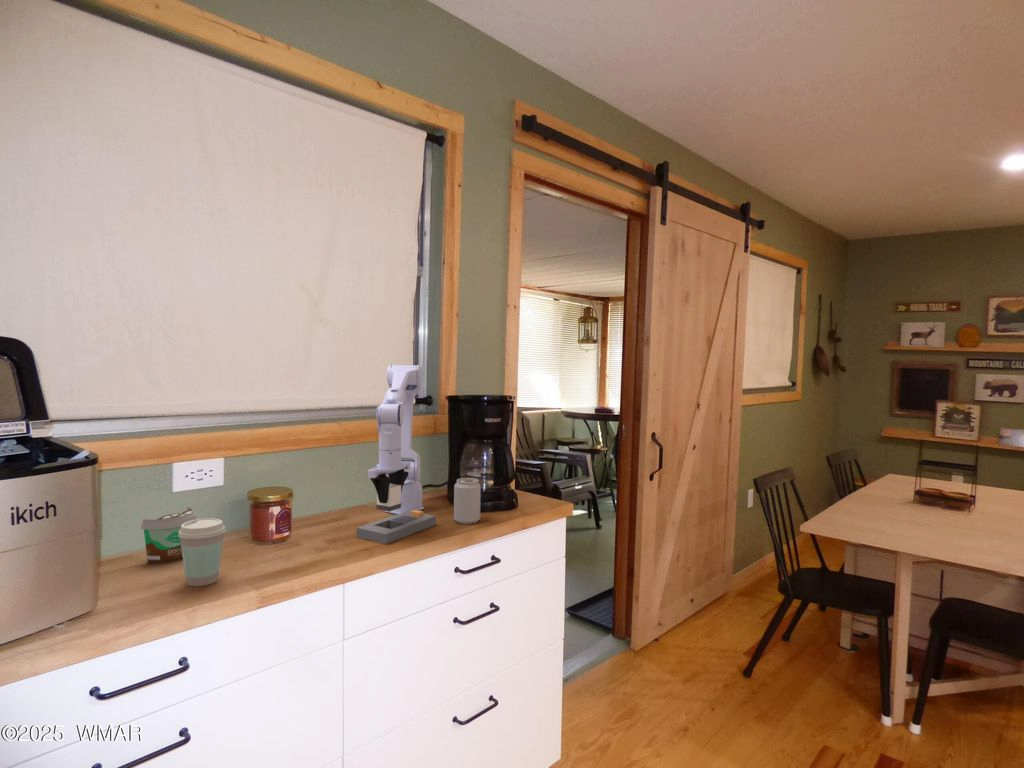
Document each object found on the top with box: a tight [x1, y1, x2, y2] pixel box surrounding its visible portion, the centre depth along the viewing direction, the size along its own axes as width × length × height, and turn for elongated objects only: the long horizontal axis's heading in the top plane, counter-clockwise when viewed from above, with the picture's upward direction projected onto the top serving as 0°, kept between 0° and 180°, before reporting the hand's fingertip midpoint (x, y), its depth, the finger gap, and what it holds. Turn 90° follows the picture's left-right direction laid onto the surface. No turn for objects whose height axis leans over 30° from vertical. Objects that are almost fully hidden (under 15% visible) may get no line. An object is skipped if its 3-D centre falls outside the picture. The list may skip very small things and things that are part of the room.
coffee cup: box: [178, 517, 226, 587], centre depth 119 cm, size 8×8×12 cm
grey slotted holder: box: [356, 510, 437, 545], centre depth 156 cm, size 20×10×4 cm, turn 150°
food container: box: [140, 506, 198, 564], centre depth 133 cm, size 12×6×10 cm, turn 160°
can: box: [453, 477, 482, 525], centre depth 166 cm, size 8×8×12 cm
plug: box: [375, 483, 401, 512], centre depth 153 cm, size 4×4×6 cm
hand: (389, 500), depth 153 cm, fingers closed on plug, 4 cm apart
